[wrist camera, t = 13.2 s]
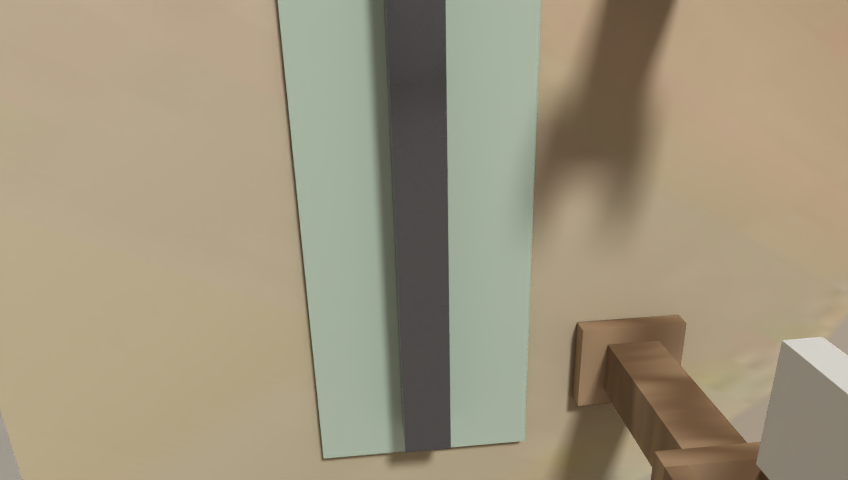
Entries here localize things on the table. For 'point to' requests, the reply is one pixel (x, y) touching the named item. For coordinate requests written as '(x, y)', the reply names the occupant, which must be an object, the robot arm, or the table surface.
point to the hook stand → (659, 399)
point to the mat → (373, 215)
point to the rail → (420, 214)
